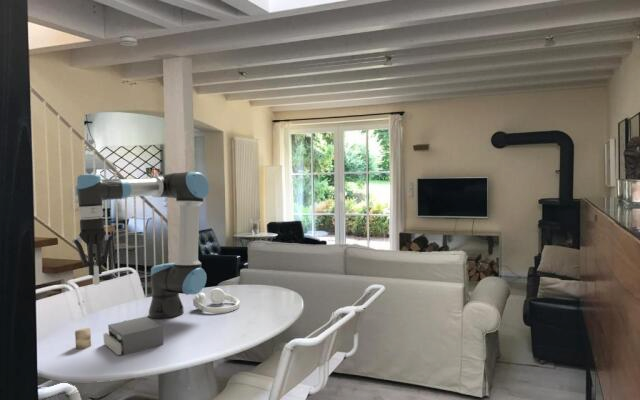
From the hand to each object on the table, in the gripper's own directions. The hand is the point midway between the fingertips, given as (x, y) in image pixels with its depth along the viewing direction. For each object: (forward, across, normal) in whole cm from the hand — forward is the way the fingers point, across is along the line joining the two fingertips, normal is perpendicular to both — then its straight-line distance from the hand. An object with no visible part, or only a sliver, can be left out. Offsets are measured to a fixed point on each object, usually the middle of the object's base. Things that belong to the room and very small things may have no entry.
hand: (96, 283), depth 161 cm
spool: (+25, -3, +10) cm, 27 cm away
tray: (+24, +10, -2) cm, 26 cm away
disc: (+23, +9, -2) cm, 25 cm away
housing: (+25, +12, -2) cm, 27 cm away
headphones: (+26, +58, +19) cm, 66 cm away
